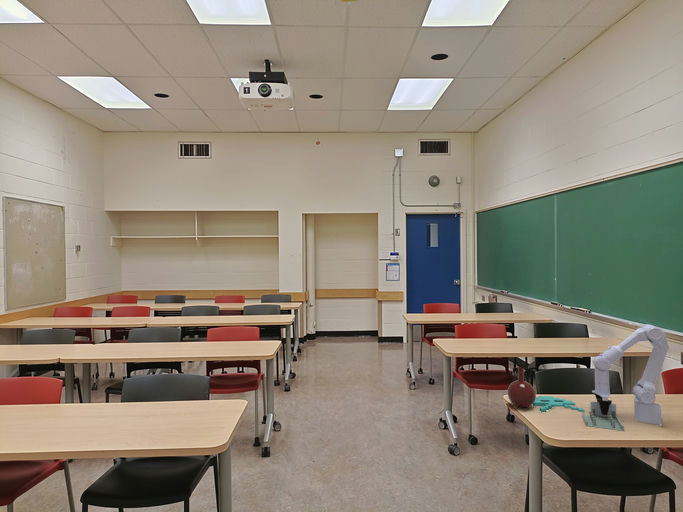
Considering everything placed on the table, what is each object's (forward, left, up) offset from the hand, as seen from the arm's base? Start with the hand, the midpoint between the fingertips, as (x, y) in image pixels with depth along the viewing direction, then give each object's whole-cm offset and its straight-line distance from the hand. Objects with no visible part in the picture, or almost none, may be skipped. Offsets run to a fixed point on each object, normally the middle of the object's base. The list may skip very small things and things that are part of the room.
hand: (603, 411), depth 184 cm
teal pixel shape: (+20, -9, -3) cm, 22 cm away
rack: (+2, +10, -3) cm, 11 cm away
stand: (0, 0, -3) cm, 3 cm away
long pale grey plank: (0, 0, -2) cm, 2 cm away
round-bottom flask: (+35, -1, -3) cm, 35 cm away
